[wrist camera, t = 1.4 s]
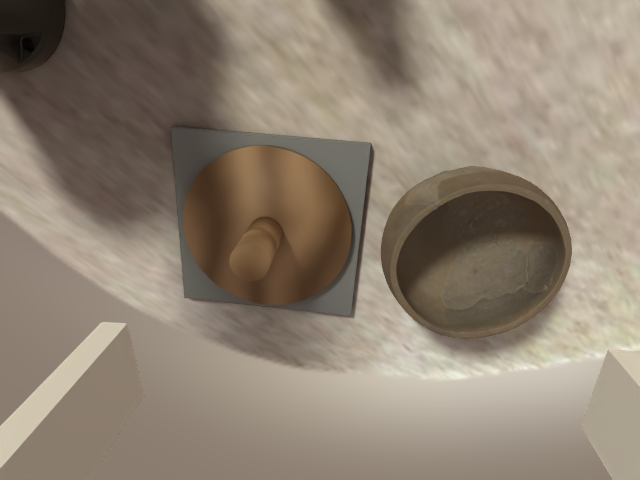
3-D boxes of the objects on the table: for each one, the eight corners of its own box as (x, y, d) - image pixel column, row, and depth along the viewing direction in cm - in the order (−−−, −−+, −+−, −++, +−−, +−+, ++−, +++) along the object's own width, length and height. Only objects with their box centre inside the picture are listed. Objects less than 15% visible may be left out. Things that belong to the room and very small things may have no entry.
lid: (191, 292, 53) (160, 334, 45) (180, 137, 45) (140, 154, 37) (343, 308, 52) (340, 354, 44) (360, 152, 44) (360, 174, 36)
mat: (187, 293, 55) (184, 297, 54) (174, 126, 46) (170, 127, 45) (350, 311, 54) (350, 315, 53) (370, 142, 44) (370, 144, 44)
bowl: (549, 267, 48) (592, 315, 39) (404, 308, 53) (413, 360, 44) (518, 129, 43) (561, 148, 33) (358, 187, 47) (357, 218, 38)
